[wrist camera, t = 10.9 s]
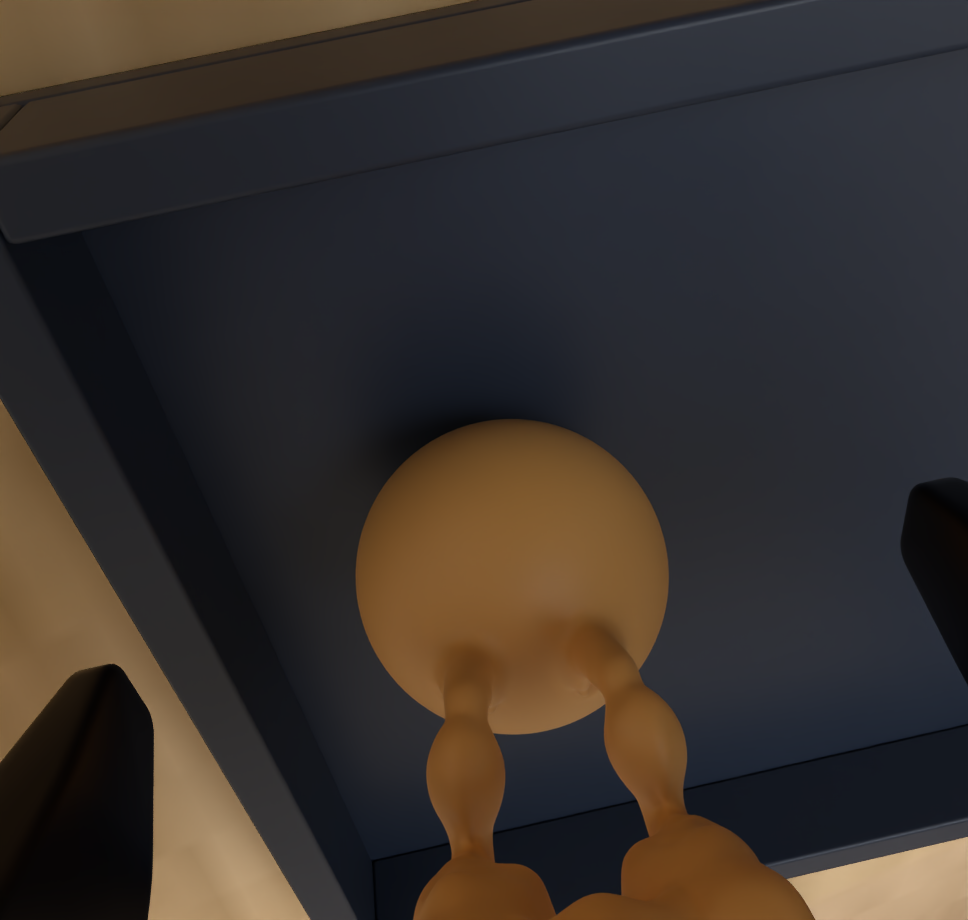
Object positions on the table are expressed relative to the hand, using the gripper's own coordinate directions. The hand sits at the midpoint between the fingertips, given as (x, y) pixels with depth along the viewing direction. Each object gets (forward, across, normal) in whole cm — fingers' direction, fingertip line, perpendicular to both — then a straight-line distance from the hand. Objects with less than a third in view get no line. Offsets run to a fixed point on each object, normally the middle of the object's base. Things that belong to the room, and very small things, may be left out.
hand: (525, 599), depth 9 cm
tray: (+4, -5, +4) cm, 7 cm away
